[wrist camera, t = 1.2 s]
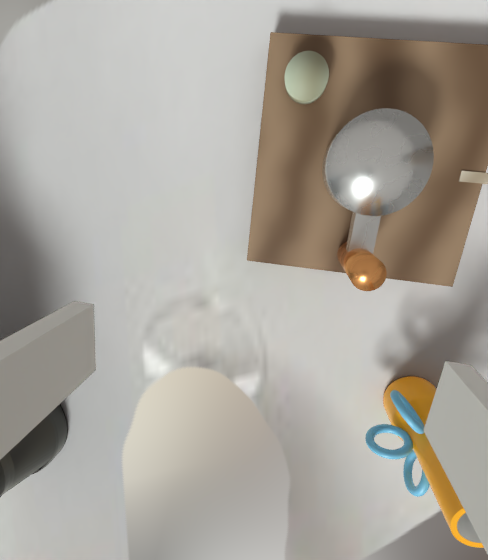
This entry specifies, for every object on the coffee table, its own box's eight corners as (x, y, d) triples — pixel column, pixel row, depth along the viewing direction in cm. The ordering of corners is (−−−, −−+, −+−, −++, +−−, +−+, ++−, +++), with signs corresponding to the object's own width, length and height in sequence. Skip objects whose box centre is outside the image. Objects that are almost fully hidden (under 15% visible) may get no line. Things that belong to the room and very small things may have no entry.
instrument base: (249, 256, 36) (244, 263, 33) (271, 41, 30) (269, 23, 27) (447, 281, 34) (464, 292, 31) (511, 56, 28) (542, 38, 25)
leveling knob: (330, 114, 29) (343, 91, 22) (425, 122, 29) (471, 100, 21) (307, 261, 33) (311, 283, 26) (390, 272, 32) (419, 298, 25)
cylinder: (484, 411, 37) (603, 551, 23) (403, 455, 40) (465, 605, 26) (417, 333, 36) (500, 431, 22) (338, 385, 39) (366, 501, 25)
